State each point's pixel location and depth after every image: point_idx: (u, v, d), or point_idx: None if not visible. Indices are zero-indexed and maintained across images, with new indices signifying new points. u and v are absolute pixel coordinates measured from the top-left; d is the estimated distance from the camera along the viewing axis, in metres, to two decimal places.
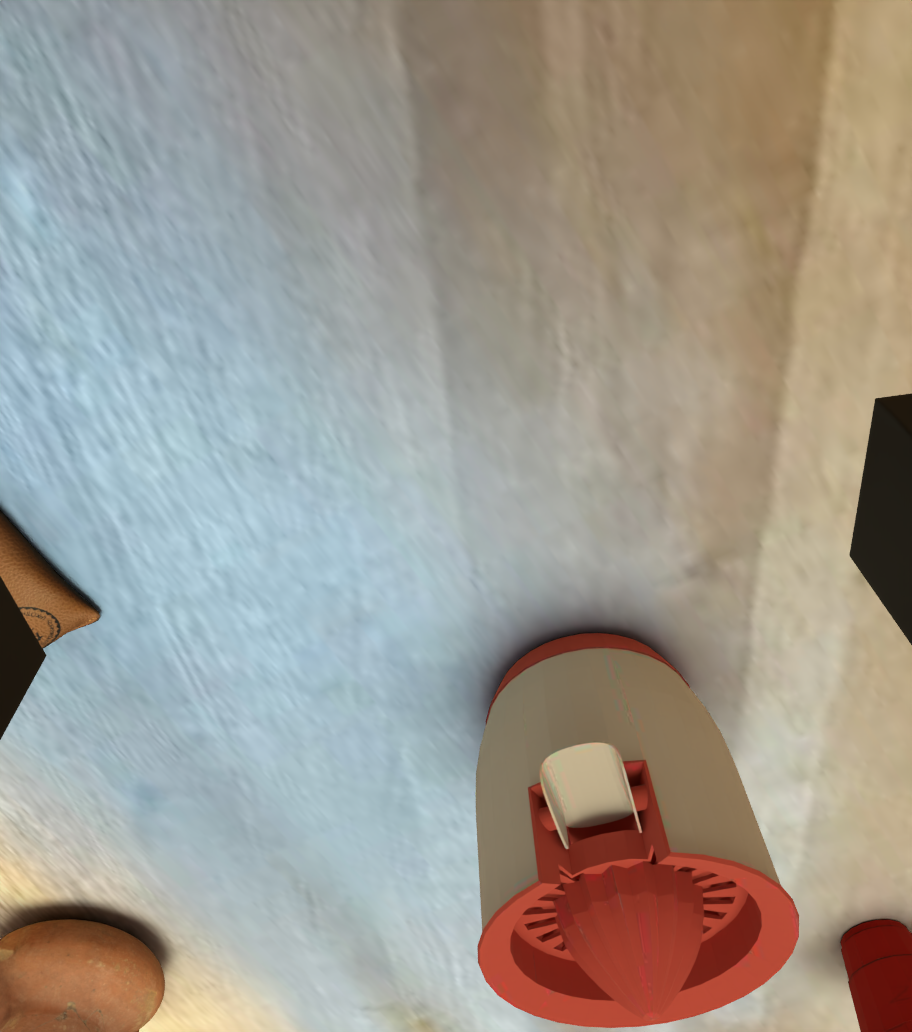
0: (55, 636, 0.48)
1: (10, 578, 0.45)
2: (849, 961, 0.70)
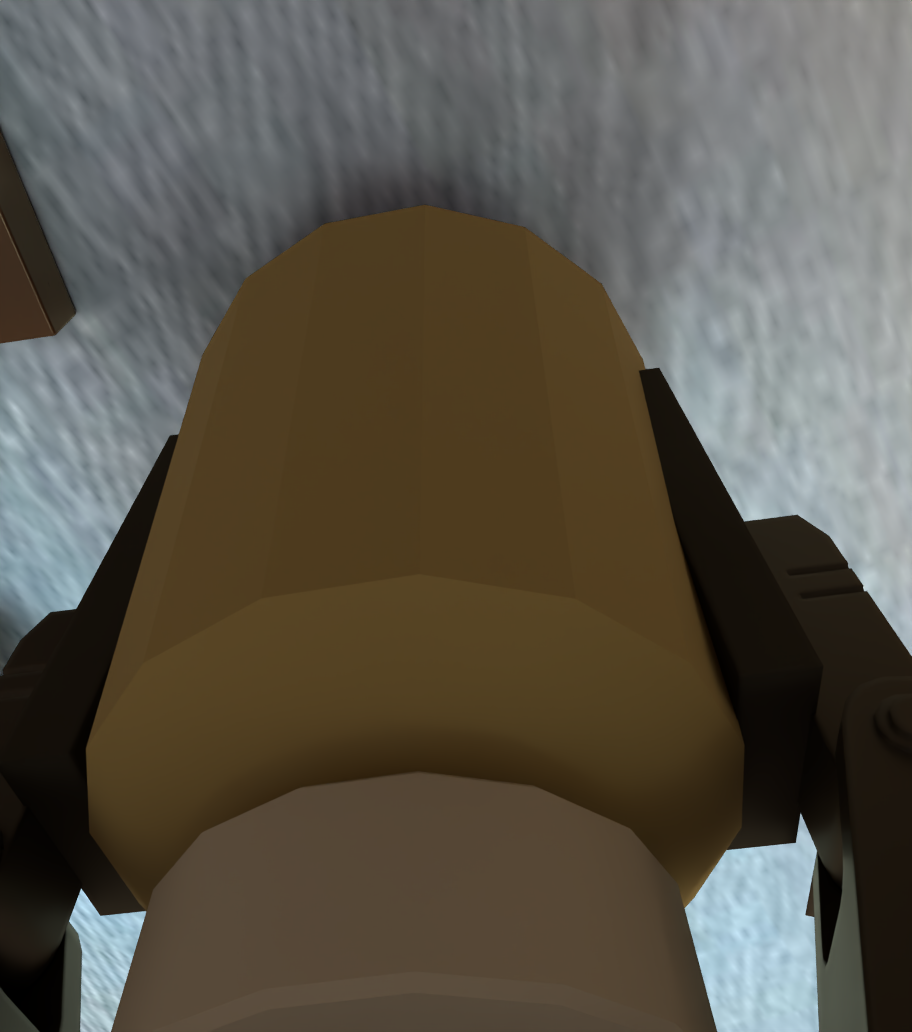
0: None
1: None
2: None
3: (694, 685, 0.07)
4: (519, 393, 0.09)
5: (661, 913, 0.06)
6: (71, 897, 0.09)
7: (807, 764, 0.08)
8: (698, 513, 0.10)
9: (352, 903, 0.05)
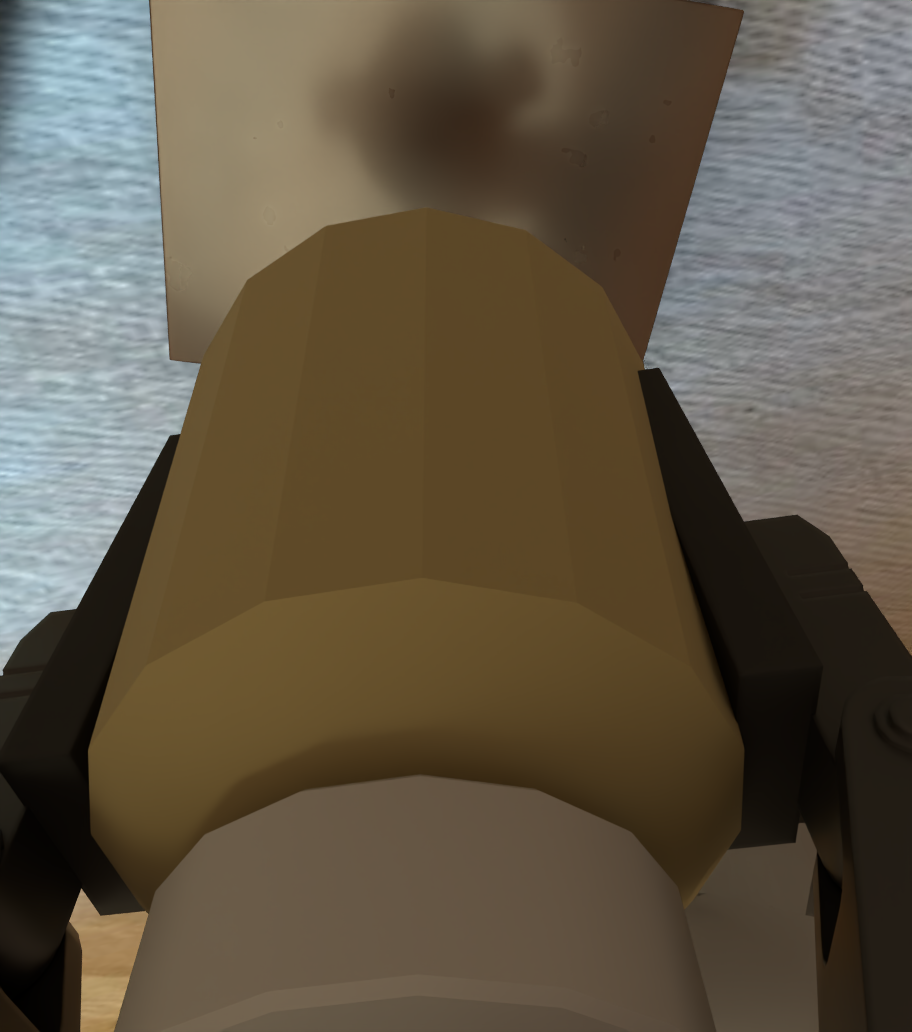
0: None
1: None
2: None
3: (695, 688, 0.07)
4: (520, 396, 0.09)
5: (662, 917, 0.06)
6: (71, 897, 0.09)
7: (807, 764, 0.08)
8: (698, 513, 0.10)
9: (355, 906, 0.05)
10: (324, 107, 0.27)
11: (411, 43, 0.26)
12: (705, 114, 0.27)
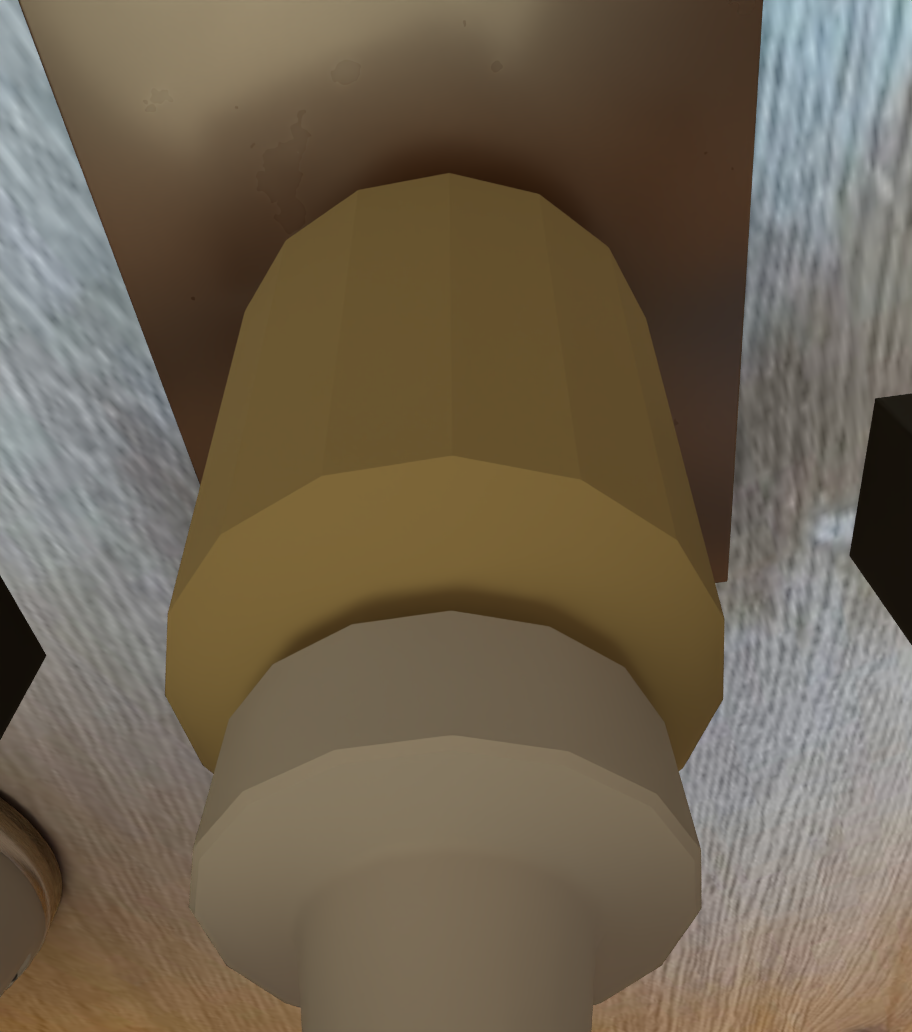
0: None
1: None
2: None
3: (680, 559, 0.08)
4: (534, 326, 0.10)
5: (648, 731, 0.07)
6: None
7: None
8: None
9: (401, 695, 0.07)
10: (537, 136, 0.17)
11: (645, 246, 0.18)
12: None
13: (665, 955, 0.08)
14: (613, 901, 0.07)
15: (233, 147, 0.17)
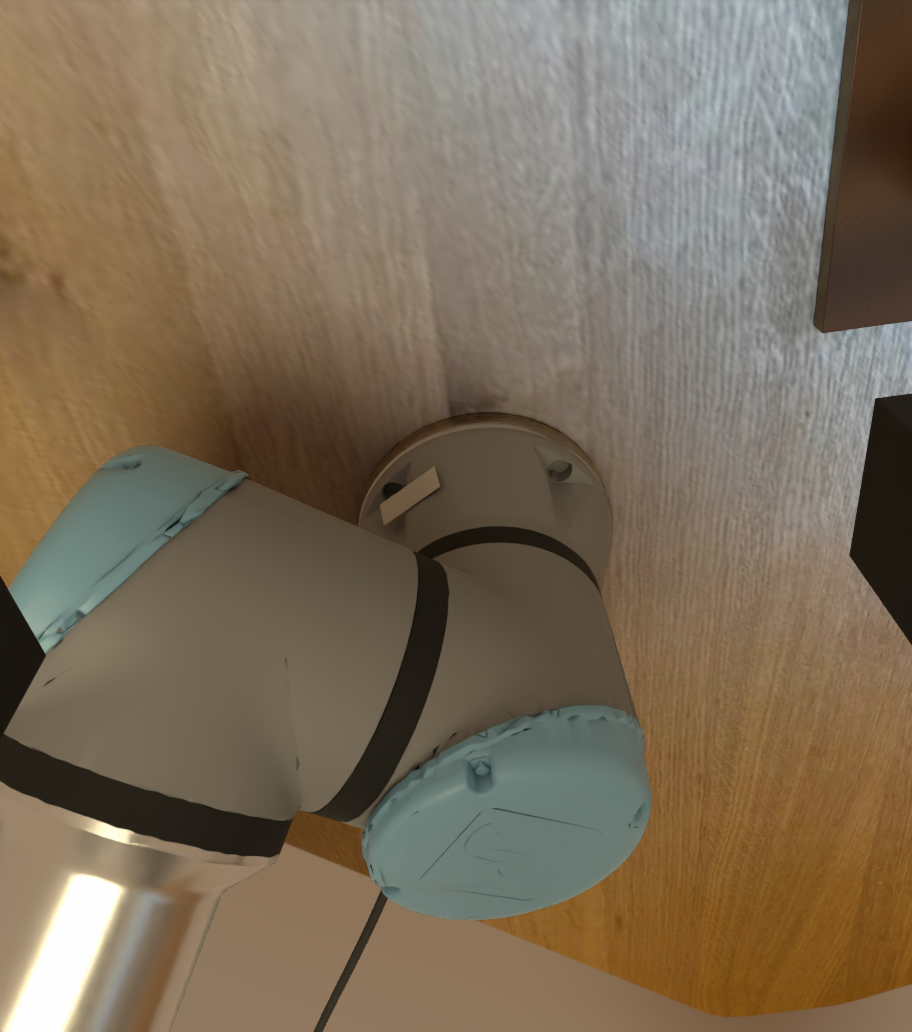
0: None
1: None
2: None
3: None
4: None
5: None
6: None
7: None
8: None
9: None
10: None
11: None
12: None
13: None
14: None
15: None
